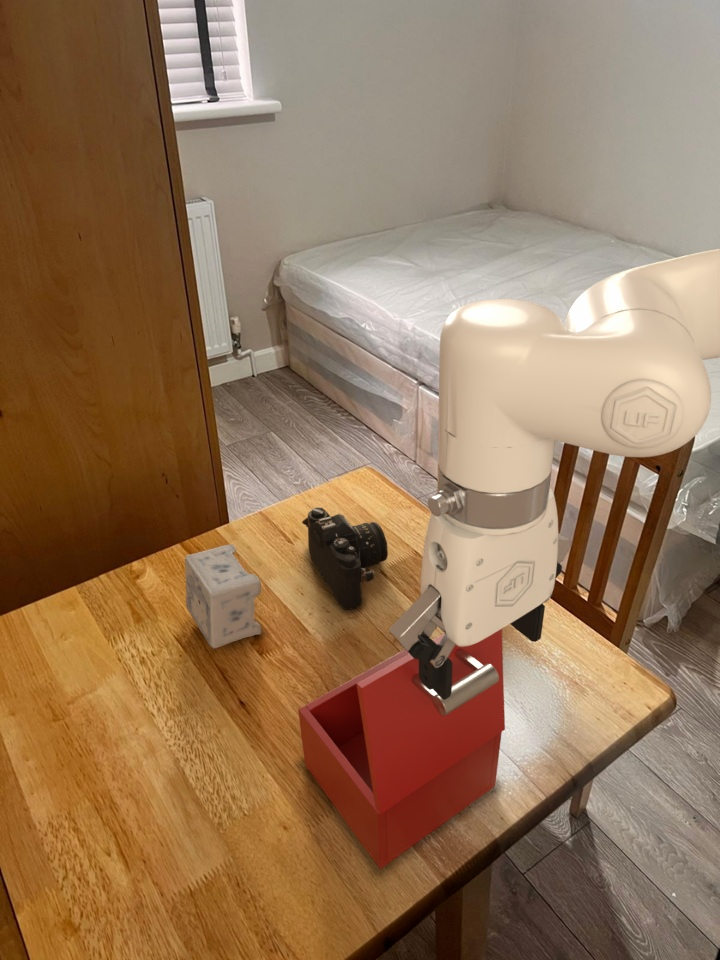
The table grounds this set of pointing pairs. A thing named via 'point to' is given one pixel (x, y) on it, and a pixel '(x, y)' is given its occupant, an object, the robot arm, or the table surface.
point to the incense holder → (221, 595)
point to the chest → (347, 779)
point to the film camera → (344, 553)
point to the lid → (429, 718)
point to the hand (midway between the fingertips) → (481, 658)
